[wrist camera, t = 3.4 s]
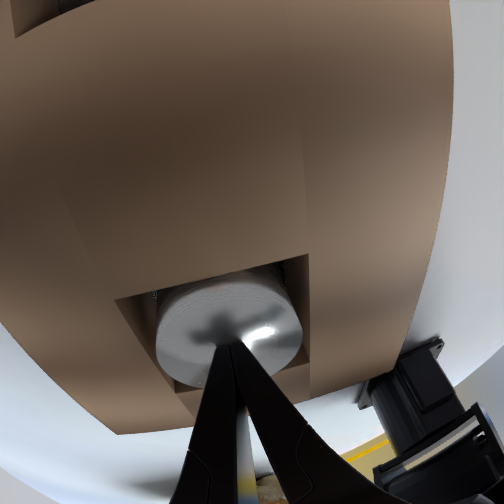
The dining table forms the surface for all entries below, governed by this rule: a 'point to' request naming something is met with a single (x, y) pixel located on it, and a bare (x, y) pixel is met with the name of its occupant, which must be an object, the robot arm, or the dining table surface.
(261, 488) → the rough brown rock
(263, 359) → the steel plunger
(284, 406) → the robot arm
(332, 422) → the dining table surface
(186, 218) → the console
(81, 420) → the dining table surface
